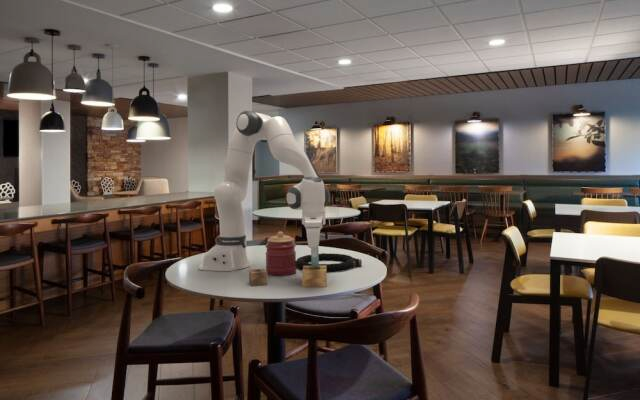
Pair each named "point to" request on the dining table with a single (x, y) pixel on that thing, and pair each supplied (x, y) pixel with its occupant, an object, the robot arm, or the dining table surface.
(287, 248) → the canister
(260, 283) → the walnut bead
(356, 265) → the cable lock
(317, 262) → the teal peg
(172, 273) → the dining table surface
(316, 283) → the wooden square frame
